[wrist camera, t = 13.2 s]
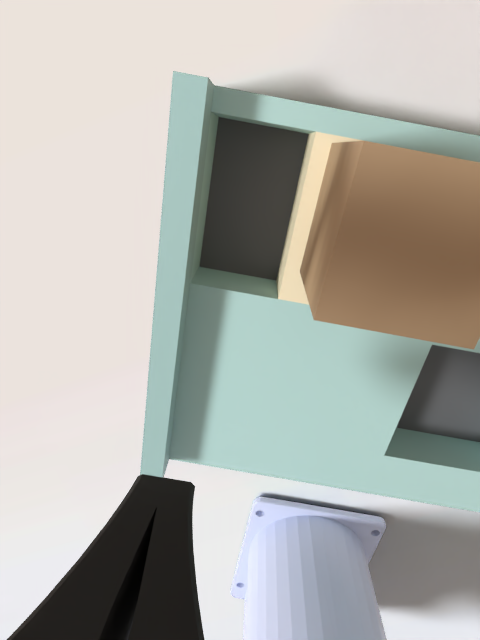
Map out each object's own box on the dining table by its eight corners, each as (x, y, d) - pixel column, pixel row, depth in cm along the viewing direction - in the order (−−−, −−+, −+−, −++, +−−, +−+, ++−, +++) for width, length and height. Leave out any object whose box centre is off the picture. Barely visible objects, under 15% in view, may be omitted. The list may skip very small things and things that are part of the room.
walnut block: (414, 292, 15) (473, 349, 11) (299, 271, 15) (313, 320, 10) (463, 168, 13) (558, 178, 9) (331, 142, 13) (363, 140, 9)
